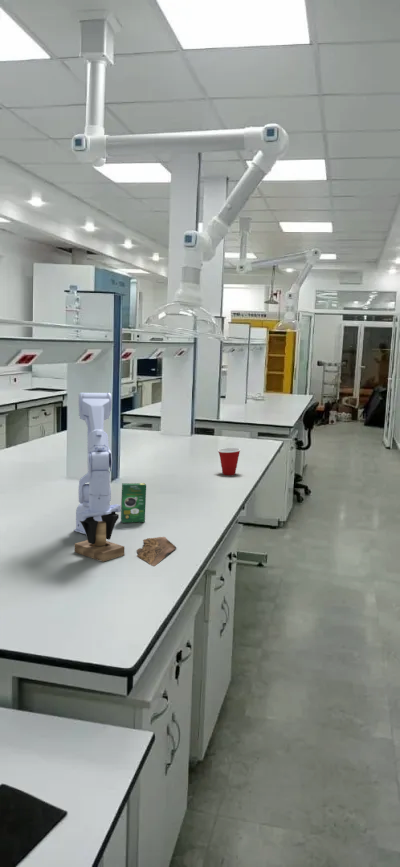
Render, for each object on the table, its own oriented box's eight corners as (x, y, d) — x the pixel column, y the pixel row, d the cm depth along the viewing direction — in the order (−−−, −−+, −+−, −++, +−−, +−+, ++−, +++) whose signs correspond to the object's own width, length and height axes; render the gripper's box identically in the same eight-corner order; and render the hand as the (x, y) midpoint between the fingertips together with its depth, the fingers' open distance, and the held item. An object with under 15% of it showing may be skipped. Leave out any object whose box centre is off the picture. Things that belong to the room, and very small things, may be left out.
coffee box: (144, 520, 220) (145, 482, 218) (145, 522, 217) (146, 484, 216) (120, 521, 218) (121, 482, 216) (121, 523, 215) (122, 484, 214)
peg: (90, 553, 184) (90, 522, 183) (100, 550, 186) (100, 520, 185) (98, 556, 181) (98, 525, 180) (108, 553, 184) (108, 522, 183)
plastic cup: (215, 471, 307) (216, 446, 305) (238, 472, 308) (239, 447, 306) (218, 476, 296) (218, 450, 294) (241, 476, 297) (242, 450, 295)
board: (74, 552, 185) (74, 543, 184) (96, 545, 191) (96, 537, 191) (103, 561, 177) (103, 552, 177) (124, 555, 183) (124, 546, 183)
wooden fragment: (145, 537, 201) (145, 534, 201) (180, 539, 200) (180, 536, 200) (128, 566, 176) (128, 562, 175) (169, 568, 175) (169, 564, 174)
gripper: (89, 500, 174) (89, 549, 175) (128, 492, 185) (127, 538, 187) (72, 496, 178) (72, 544, 180) (111, 488, 189) (111, 533, 191)
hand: (99, 540), depth 184 cm, fingers open, 5 cm apart
